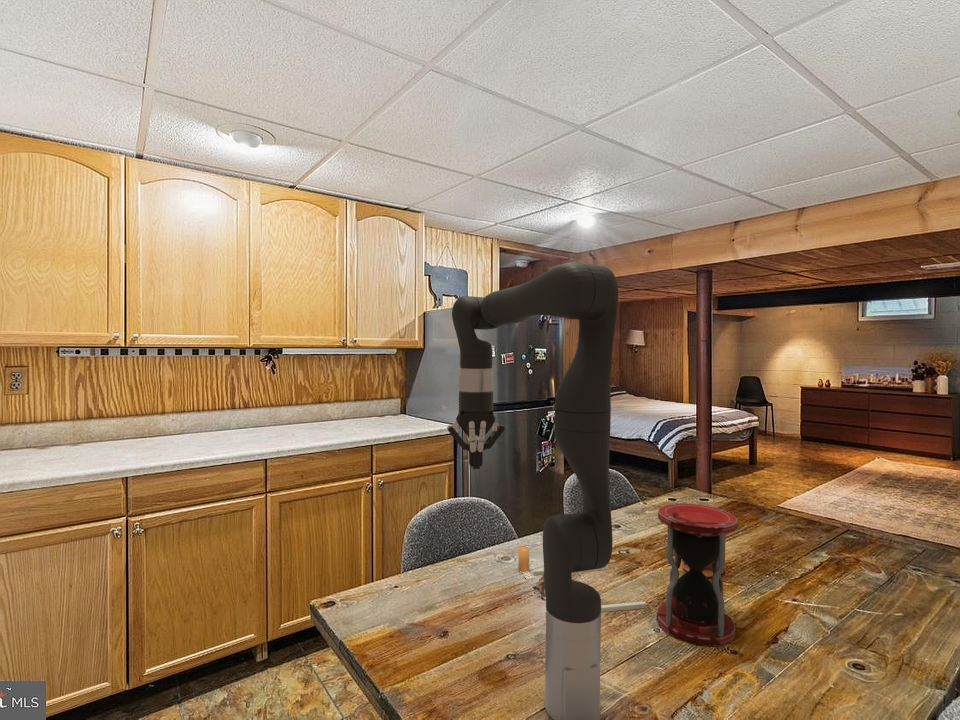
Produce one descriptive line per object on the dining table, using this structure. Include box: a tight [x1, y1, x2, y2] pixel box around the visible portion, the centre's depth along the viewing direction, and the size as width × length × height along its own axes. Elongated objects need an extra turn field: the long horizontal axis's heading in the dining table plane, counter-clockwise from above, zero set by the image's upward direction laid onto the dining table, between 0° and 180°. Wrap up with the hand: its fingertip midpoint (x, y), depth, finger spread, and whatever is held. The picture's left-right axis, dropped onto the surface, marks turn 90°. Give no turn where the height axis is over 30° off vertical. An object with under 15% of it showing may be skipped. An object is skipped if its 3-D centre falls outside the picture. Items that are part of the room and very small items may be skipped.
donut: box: [681, 559, 713, 578], centre depth 141 cm, size 10×10×4 cm
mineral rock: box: [535, 575, 546, 597], centre depth 130 cm, size 11×4×8 cm
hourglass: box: [655, 502, 738, 647], centre depth 113 cm, size 16×16×25 cm
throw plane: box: [517, 546, 647, 614], centre depth 130 cm, size 30×24×6 cm
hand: (475, 468), depth 112 cm, fingers closed
